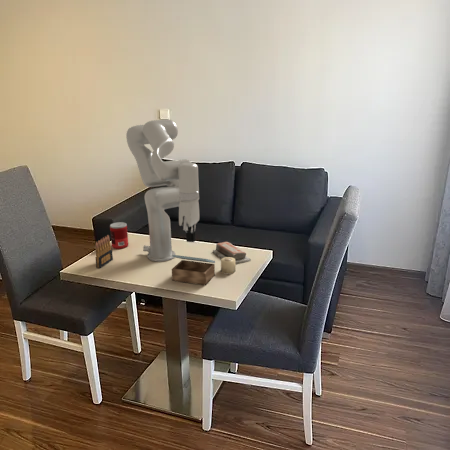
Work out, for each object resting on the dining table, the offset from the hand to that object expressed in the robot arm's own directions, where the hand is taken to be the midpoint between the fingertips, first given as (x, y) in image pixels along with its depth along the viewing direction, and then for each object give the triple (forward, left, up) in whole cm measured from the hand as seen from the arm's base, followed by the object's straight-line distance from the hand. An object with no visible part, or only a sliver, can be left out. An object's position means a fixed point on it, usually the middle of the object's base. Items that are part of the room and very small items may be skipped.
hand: (191, 241), depth 186 cm
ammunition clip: (-43, +4, -17) cm, 46 cm away
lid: (0, +2, -9) cm, 9 cm away
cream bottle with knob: (+11, +13, -16) cm, 23 cm away
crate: (0, +2, -16) cm, 16 cm away
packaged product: (+7, +28, -17) cm, 34 cm away
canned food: (-48, +25, -17) cm, 57 cm away
